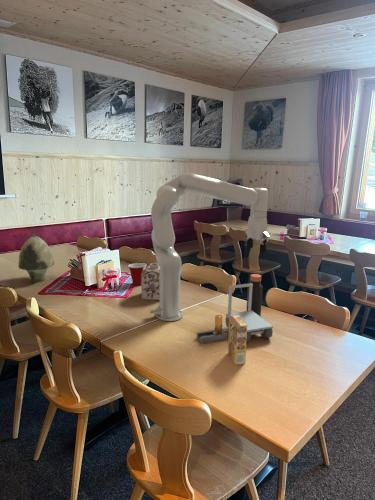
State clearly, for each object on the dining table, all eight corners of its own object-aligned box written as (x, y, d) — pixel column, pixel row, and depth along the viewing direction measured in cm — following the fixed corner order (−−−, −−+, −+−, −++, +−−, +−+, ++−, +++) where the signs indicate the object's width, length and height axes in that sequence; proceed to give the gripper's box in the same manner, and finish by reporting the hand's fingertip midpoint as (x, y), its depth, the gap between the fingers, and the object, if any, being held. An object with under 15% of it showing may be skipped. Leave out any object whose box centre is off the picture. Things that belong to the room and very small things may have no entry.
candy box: (245, 364, 133) (248, 325, 130) (234, 365, 133) (236, 326, 129) (237, 351, 142) (239, 314, 138) (226, 352, 141) (228, 315, 137)
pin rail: (201, 343, 148) (201, 337, 147) (196, 338, 152) (196, 332, 152) (226, 339, 151) (226, 333, 151) (220, 334, 156) (221, 328, 155)
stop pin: (215, 337, 150) (215, 318, 148) (212, 334, 153) (212, 315, 151) (238, 333, 154) (239, 315, 152) (234, 330, 157) (235, 312, 155)
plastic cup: (139, 279, 224) (139, 260, 221) (150, 284, 216) (150, 264, 213) (124, 283, 216) (124, 264, 213) (135, 288, 209) (135, 268, 206)
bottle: (263, 315, 175) (266, 275, 170) (255, 319, 170) (258, 278, 166) (251, 311, 180) (253, 272, 175) (243, 315, 175) (245, 275, 170)
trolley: (244, 344, 147) (247, 300, 143) (224, 326, 164) (226, 285, 159) (272, 340, 152) (275, 296, 147) (250, 322, 168) (252, 282, 163)
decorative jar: (166, 293, 203) (167, 261, 198) (163, 300, 191) (163, 267, 187) (145, 291, 204) (145, 260, 199) (140, 299, 193) (140, 266, 188)
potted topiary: (32, 277, 230) (26, 230, 226) (61, 277, 227) (56, 228, 223) (13, 285, 211) (7, 233, 207) (45, 284, 208) (39, 231, 204)
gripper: (240, 212, 178) (238, 247, 182) (264, 217, 163) (261, 255, 167) (253, 211, 182) (251, 245, 186) (277, 216, 167) (274, 253, 171)
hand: (256, 250), depth 177 cm, fingers open, 9 cm apart
